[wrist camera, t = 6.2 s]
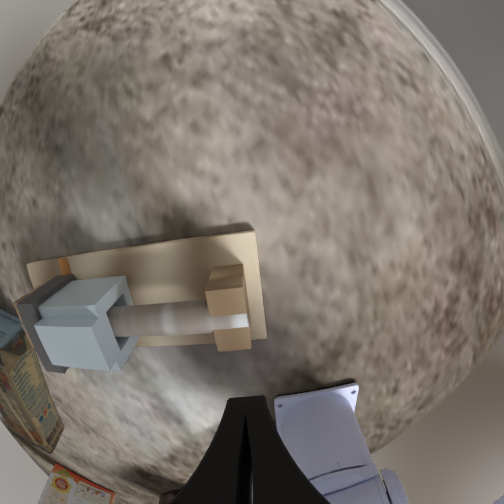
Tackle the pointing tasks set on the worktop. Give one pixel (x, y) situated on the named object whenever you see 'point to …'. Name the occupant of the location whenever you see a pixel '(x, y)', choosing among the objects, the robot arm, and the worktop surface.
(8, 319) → the beverage carton
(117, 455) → the worktop surface
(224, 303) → the pipe stand
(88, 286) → the sleeve
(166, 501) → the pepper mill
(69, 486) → the cracker box
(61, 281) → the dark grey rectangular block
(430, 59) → the worktop surface
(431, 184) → the worktop surface
